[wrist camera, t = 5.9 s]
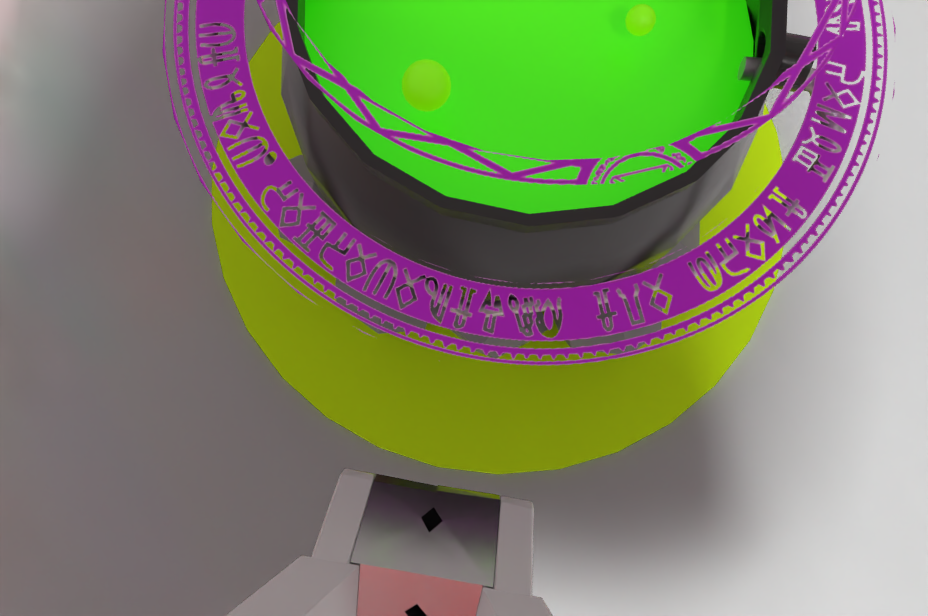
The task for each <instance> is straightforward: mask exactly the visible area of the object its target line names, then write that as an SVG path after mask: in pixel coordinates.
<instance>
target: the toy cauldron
mask: <svg viewBox="0 0 928 616" xmlns="http://www.w3.org/2000/svg"><path fill="white" fill-rule="evenodd" d="M264 1H265V0H257V2H258V4H259V7H260V9H261V11H262V13H263V15H264V17H265V20H266V22H267V24H268V26H269V28H270V30H271V32H270V33H269V35H268V36H267V37H266V39H265V40H264V42H263V43H262V45H261V46H260V47H259V49H258V50H257V52H256V53H255V55H254V56H253V57H252V59H251V60H250V62H249V63H248V58H247V53H246V47H245V45H246V43H245V33H244V29H245V28H244V11H245V5H244V4H245V0H197V2H196V18H195V24H196V26H195V35H196V50H197V58H200V56H201V59H202V64H201V63H199V61H198V69H199V76H200V80H201V86H202V90H203V94H204V98H205V101H206V104H207V108H208V112H209V115H210V116H212V115H213V113H214V111H215V109H217V108H218V107H220V109H221V110H220V111H222V114H221V115H218V116H216V117H220V116H222V115H223V119H220V120H217V121H214V122H212V124H213V126H214V128H215V130H216V134H217V136H218V137H219V138H218V143H217V147H216V149H215V147H214V145H213V142H212V140H211V137H210V136H209V133H208V130H207V127H206V125H205V122H204V118H203V115H202V113H201V111H200V106H199V102H198V98H197V94H196V90H195V85H194V80H193V74H192V70H191V61H190V52H189V35H188V31H189V30H188V29H189V26H188V21H189V4H190V0H175V2H174V6H175V7H174V16H173V21H174V24H173V42H174V58H175V65H176V73H177V78H178V80H177V81H178V85H179V89H180V95H181V99H182V104H183V108H184V111H185V115H186V116H187V121H188V125H189V127H190V130H191V132H192V136H193V138H194V140H195V143H196V146H197V148H198V150H199V153H200V155H201V157H202V159H203V161H204V163H205V165H206V168H207V169H208V171H209V174H210V175H211V176H212V194H211V193H210V191H209V189H208V188H207V186H206V184H205V182H204V181H203V178H202V176H201V175H200V173H199V171H198V169H197V167H196V164H195V163H194V161H193V158H192V156H191V154H190V151H189V149H188V146H187V145H186V141H185V138H184V136H183V134H182V130H181V127H180V124H179V122H178V117H177V113H176V110H175V106H174V102H173V99H172V95H171V89H170V84H169V78H168V72H167V62H166V61H167V60H166V49H165V14H164V34H163V57H164V63H165V69H166V74H167V80H168V86H169V91H170V97H171V103H172V109H173V114H174V119H175V121H176V124H177V126H178V128H179V131H180V133H181V136H182V138H183V140H184V143H185V145H186V148H187V150H188V152H189V155H190V157H191V160H192V162H193V164H194V167H195V169H196V172H197V174H198V176H199V179H200V181H201V183H202V184H203V186H204V187H205V189H206V190H207V192H208V193H209V194H210V196H211V197H212V227H213V231H214V236H215V241H216V245H217V250H218V254H219V259H220V264H221V268H222V273H223V277H224V280H225V282H226V284H227V286H228V289H229V291H230V293H231V295H232V298H233V300H234V302H235V304H236V306H237V309H238V311H239V313H240V315H241V317H242V320H243V322H244V324H245V326H246V328H247V330H248V332H249V333H250V334H251V336H252V337H253V339H254V340H255V341H256V343H257V344H258V345H259V347H260V348H261V349H262V351H263V352H264V353H265V355H266V356H267V358H268V359H269V360H270V362H271V363H272V364H273V366H274V367H275V368H276V370H277V371H278V372H279V374H280V375H281V377H282V378H283V379H284V380H285V381H287V382H288V383H289V384H290V385H291V386H292V387H293V388H294V389H295V390H297V391H298V392H299V393H300V394H301V395H302V396H303V397H304V398H306V399H307V400H308V401H309V402H310V403H311V404H312V405H313V406H315V407H316V408H317V409H318V410H319V411H320V412H321V413H322V414H323V415H325V416H326V417H327V418H329V419H330V420H332V421H334V422H336V423H337V424H339V425H341V426H342V427H344V428H346V429H348V430H349V431H351V432H353V433H355V434H356V435H358V436H360V437H361V438H363V439H365V440H367V441H368V442H370V443H372V444H374V445H375V446H377V447H379V448H382V449H385V450H388V451H391V452H394V453H397V454H400V455H403V456H406V457H409V458H412V459H415V460H418V461H421V462H424V463H427V464H430V465H433V466H436V467H441V468H450V469H458V470H466V471H475V472H483V473H491V474H508V473H520V472H533V471H545V470H557V469H562V468H565V467H569V466H572V465H575V464H579V463H582V462H586V461H589V460H592V459H596V458H599V457H603V456H606V455H609V454H613V453H616V452H618V451H620V450H622V449H624V448H626V447H628V446H630V445H631V444H633V443H635V442H637V441H639V440H641V439H643V438H644V437H646V436H648V435H650V434H652V433H654V432H656V431H657V430H659V429H661V428H663V427H665V426H667V425H669V424H670V423H672V422H673V421H674V420H675V419H676V418H677V417H679V416H680V415H681V414H682V413H683V412H684V411H686V410H687V409H688V408H689V407H690V406H692V405H693V404H694V403H695V402H696V401H697V400H699V399H700V398H701V397H702V396H703V395H705V394H706V393H707V392H708V391H709V390H710V389H712V388H713V387H714V386H715V385H716V384H717V383H718V381H719V380H720V379H721V377H722V376H723V375H724V373H725V372H726V371H727V369H728V368H729V367H730V366H731V364H732V363H733V362H734V360H735V359H736V358H737V356H738V355H739V354H740V353H741V351H742V350H743V349H744V347H745V346H746V345H747V343H748V342H749V341H750V339H751V337H752V335H753V333H754V331H755V328H756V326H757V324H758V322H759V320H760V318H761V316H762V314H763V311H764V309H765V307H766V305H767V303H768V301H769V299H770V297H771V295H772V292H773V290H774V286H776V284H778V283H780V281H782V280H783V279H784V278H786V276H787V275H789V274H790V273H791V272H792V271H793V270H794V269H795V268H796V267H797V266H798V264H800V263H801V262H802V261H803V260H804V259H805V258H806V257H807V256H808V255H809V253H811V251H812V250H813V249H814V248H815V246H817V245H818V243H819V242H820V241H821V240H822V238H823V237H824V236H825V235H826V233H827V232H828V231H829V229H830V228H831V226H832V225H833V224H834V222H835V221H836V219H837V218H838V216H839V214H841V212H842V210H843V209H844V207H845V205H846V204H847V202H848V200H849V198H850V196H851V195H852V193H853V191H854V189H855V187H856V185H857V183H858V182H859V181H858V180H859V179H860V176H861V174H862V173H863V171H864V168H865V166H866V163H867V161H868V159H869V155H870V152H871V150H872V147H873V144H874V140H875V138H876V134H877V130H878V127H879V124H880V123H879V122H880V118H881V114H882V113H881V112H882V109H883V103H884V97H885V90H886V80H887V79H886V78H887V60H888V58H887V56H888V54H887V53H888V52H887V51H888V50H887V33H886V32H887V29H886V22H885V14H884V8H883V2H882V0H879V5H880V10H881V14H882V16H881V18H882V26H883V35H881V34H880V33H878V32H877V27H879V26H881V23H878V22H876V16H877V15H880V13H877V12H875V9H874V6H875V5H877V4H878V2H877V1H874V0H868V5H869V11H870V19H871V26H872V37H873V38H872V42H873V44H872V46H873V58H872V60H873V62H872V64H873V65H872V78H871V86H870V93H869V100H868V106H867V110H866V114H865V118H864V124H863V126H862V130H861V132H860V136H859V140H858V142H857V145H856V148H855V150H854V153H853V156H852V158H851V161H850V163H849V165H848V167H847V169H846V171H845V173H844V175H843V178H842V180H841V181H840V183H839V185H838V187H837V189H836V191H835V192H834V194H833V195H832V197H831V198H830V200H829V202H828V203H827V205H826V207H825V208H824V209H823V211H822V212H821V214H820V215H819V217H818V218H817V219H816V221H815V222H814V223H813V224H812V226H811V227H810V228H809V229H808V231H807V232H806V233H805V234H804V236H803V237H802V238H801V239H800V240H799V241H798V242H797V243H796V244H795V245H794V247H792V249H791V250H789V252H787V254H786V255H784V257H782V258H781V256H782V252H783V247H784V245H785V244H786V243H787V242H788V241H789V240H790V239H791V238H792V237H793V235H795V233H796V232H797V231H798V230H799V229H800V228H801V227H802V225H803V224H804V223H805V222H806V220H807V219H808V218H809V216H810V215H811V213H813V211H814V210H815V208H816V206H817V205H818V204H819V203H820V201H821V199H822V198H823V196H824V194H825V192H826V191H827V190H828V187H830V185H831V183H832V181H833V179H834V177H835V174H837V171H838V169H839V167H840V165H841V163H842V161H843V158H844V156H845V153H846V151H847V148H848V146H849V143H850V140H851V138H852V134H853V132H854V128H855V126H856V125H855V124H856V122H857V118H858V114H859V109H860V104H858V105H854V106H850V107H847V108H843V106H842V104H841V102H840V100H841V101H842V103H843V104H844V105H847V104H850V103H853V102H854V100H853V98H852V97H851V96H850V95H849V93H848V92H847V93H843V94H841V95H839V96H837V94H836V93H839V92H841V91H842V90H846V89H849V90H850V91H851V92H852V94H853V95H854V96H855V98H856V99H857V100H858V101H859V102H860V103H861V100H862V93H863V89H864V88H863V86H864V76H863V78H862V80H860V82H859V83H856V84H851V85H847V84H844V83H841V81H840V80H841V77H840V76H837V75H833V74H828V73H826V71H827V70H828V71H832V72H836V73H842V67H839V66H835V65H832V64H828V63H827V62H828V61H831V62H835V63H838V64H842V65H845V66H846V70H845V76H844V80H845V81H846V82H854V81H856V80H857V79H858V78H859V76H860V74H861V71H865V67H866V65H865V63H866V37H865V36H866V33H865V21H864V14H863V7H862V1H861V0H855V2H854V3H850V4H849V1H850V0H828V1H826V0H815V7H816V14H817V22H818V23H817V24H818V26H817V27H816V29H815V31H814V33H813V35H812V37H807V36H802V35H797V34H791V33H786V28H787V1H788V0H275V1H276V6H277V10H278V15H279V19H280V22H279V23H278V24H277V25H276V26H275V27H273V25H272V24H271V21H270V20H269V18H268V17H267V16H266V12H265V10H264V9H263V7H262V5H261V4H262V2H264ZM166 2H167V0H165V12H166ZM179 2H180V3H182V4H183V10H180V11H178V8H177V5H178V3H179ZM839 4H842V5H841V7H840V9H839V10H838V11H837V12H834V10H835V9H836V7H837V5H839ZM828 5H829V6H828ZM827 6H828V8H827V9H826V7H827ZM825 9H826V12H825ZM177 13H178V14H181V15H182V20H181V21H179V22H178V23H176V22H177ZM839 15H841V17H840V20H839V19H838V20H837V21H841V22H840V24H831V23H830V24H827V23H828V21H829V19H831V18H834V17H837V16H839ZM850 21H851V22H856V21H857V22H860V31H857V30H851V31H850V30H846V28H853V27H854V28H855V27H857V25H853V24H849V22H850ZM221 23H223V24H227V25H229V26H231V27H233V29H234V30H235V33H236V36H235V39H234V40H233V42H231V43H229V44H228V45H224V46H220V43H224V42H227V41H229V40H231V38H232V34H228V35H218V32H228V31H230V29H229V28H227V27H223V26H220V24H221ZM177 24H178V25H180V26H182V30H181V31H180V32H179V33H177ZM893 24H894V19H893ZM828 27H834V28H837V27H840V29H839V30H838V32H839V35H838V34H835V33H832V32H830V31H827V29H826V28H828ZM894 32H895V24H894ZM842 35H844V36H842ZM177 36H182V42H181V43H179V44H177ZM879 36H883V37H884V38H883V39H884V70H883V83H882V90H881V91H882V93H881V100H880V105H879V111H878V115H877V119H876V125H875V127H874V131H873V134H872V138H871V141H870V145H869V147H868V150H867V153H866V155H865V158H864V161H863V163H862V166H861V168H860V170H859V172H858V174H857V177H856V179H855V181H854V183H853V185H852V187H851V189H850V190H849V192H848V194H847V196H846V198H845V200H844V201H843V203H842V205H841V206H840V208H839V210H838V211H837V212H836V214H835V215H834V217H833V219H832V220H831V222H829V224H828V225H827V227H826V229H824V231H823V232H822V234H820V236H819V237H818V239H816V241H815V242H814V243H813V244H812V246H811V247H810V248H809V249H808V250H807V251H806V252H805V254H803V255H802V257H800V259H799V260H797V262H795V263H794V265H792V266H791V268H789V269H788V270H787V271H786V272H785V273H784V274H783V275H782V276H780V277H779V278H778V279H777V280H776V277H777V273H778V269H779V270H784V266H783V264H784V263H785V262H793V261H794V260H793V257H792V255H793V253H795V252H799V253H803V252H802V249H801V245H803V243H806V244H807V243H808V241H807V239H808V238H809V236H810V235H814V236H817V235H818V233H817V231H816V228H817V227H818V225H824V223H823V222H822V220H823V218H824V217H825V215H828V216H831V214H830V213H829V212H828V211H829V209H830V208H831V206H837V204H836V199H837V197H838V196H843V194H841V190H842V188H843V186H848V184H847V183H846V181H847V179H848V177H849V176H854V174H853V173H852V172H851V170H852V168H853V166H859V164H858V163H857V162H856V159H857V157H858V155H863V154H862V153H861V152H860V149H861V147H862V145H865V144H867V143H866V142H865V141H864V140H863V139H864V137H865V135H867V134H868V135H870V132H869V131H868V130H867V127H868V125H869V124H871V123H873V120H871V119H870V115H871V113H876V110H875V109H874V108H873V103H877V102H879V101H878V99H876V98H875V97H874V94H875V92H877V91H880V89H879V88H878V87H876V81H878V80H881V78H879V77H878V76H877V69H882V67H881V66H879V65H878V59H879V58H883V56H882V55H881V54H879V53H878V48H880V47H882V46H881V45H880V44H878V39H877V37H879ZM817 41H818V49H817V50H816V43H817ZM177 47H181V48H182V49H183V52H182V53H181V54H180V55H178V50H177ZM235 47H237V48H238V52H237V53H233V54H226V55H222V53H223V52H229V51H233V50H234V49H235ZM237 55H239V59H240V60H238V61H237V60H236V59H231V60H226V61H223V58H227V57H232V56H237ZM178 57H182V58H183V60H184V61H183V63H182V64H181V65H179V60H178ZM816 59H817V60H818V61H817V68H816V69H813V68H812V65H813V62H814V60H816ZM236 68H238V71H237V73H236V74H235V77H234V78H235V79H236V80H238V81H239V82H238V84H237V83H235V82H234V81H230V82H229V78H228V77H227V75H229V74H233V72H234V70H235V69H236ZM180 69H184V70H185V74H184V75H180V72H179V71H180ZM181 79H186V81H187V83H186V84H184V85H182V81H181ZM207 80H208V81H209V83H208V84H207V85H208V86H210V87H211V88H212V89H207V88H206V87H205V86H204V84H205V82H206V81H207ZM894 81H895V80H894ZM894 83H895V82H894ZM184 87H186V88H188V92H189V93H187V94H186V95H184V93H183V88H184ZM772 88H778V89H782V91H781V92H780V95H778V98H777V99H776V101H775V103H774V105H773V107H772V108H771V111H770V112H768V109H767V107H766V104H765V100H766V97H767V94H768V92H769V90H770V89H772ZM796 90H797V91H796ZM803 90H804V91H808V92H809V93H810V96H811V99H810V100H811V101H810V103H809V107H808V109H807V113H806V115H805V118H804V121H803V123H802V126H801V129H800V131H799V133H798V135H797V137H796V140H795V142H794V144H793V146H792V148H791V150H790V152H789V154H788V155H787V157H786V159H785V161H784V162H782V157H781V152H780V146H779V141H778V136H777V132H776V129H775V127H774V124H773V122H772V118H773V117H774V116H776V115H777V114H778V113H780V112H781V111H783V109H785V108H787V106H788V105H790V104H791V103H792V101H794V100H795V99H796V98H797V97H798V95H799V94H800V93H801V92H802V91H803ZM789 91H792V92H794V94H793V95H791V96H790V98H788V99H786V97H787V95H788V93H789ZM893 96H894V91H893ZM838 97H839V98H838ZM186 99H190V100H191V105H189V106H187V104H186ZM839 99H840V100H839ZM188 108H189V109H193V110H194V115H192V116H189V111H188ZM815 111H816V112H817V114H816V113H815ZM845 114H846V115H849V116H851V119H847V118H845ZM812 117H813V118H815V119H817V120H820V122H821V124H820V123H817V122H814V121H812V120H811V118H812ZM191 119H196V121H197V123H198V125H197V126H195V128H194V127H193V124H192V121H191ZM810 127H813V128H814V131H815V134H816V135H819V136H820V137H819V138H816V139H815V140H816V142H818V143H819V147H818V146H817V145H816V144H814V142H813V141H811V142H809V143H807V144H804V143H802V141H806V140H808V139H810V138H811V137H812V132H811V130H810ZM195 130H197V131H200V132H201V134H202V136H201V137H200V138H199V139H198V138H197V135H196V133H195ZM844 130H846V133H844ZM199 141H204V142H205V143H206V147H205V148H204V149H202V148H201V145H200V143H199ZM800 146H803V147H806V148H808V149H809V150H811V151H813V152H815V153H816V154H818V158H817V160H816V161H815V162H814V164H813V165H812V166H811V168H810V169H809V170H808V171H807V169H808V168H807V167H806V166H804V165H803V164H801V163H799V162H798V161H796V160H795V161H793V160H792V159H793V157H794V155H796V153H797V151H798V150H799V148H800ZM206 151H208V152H209V153H210V155H211V159H209V160H207V158H206V157H205V155H204V152H206ZM802 152H803V153H804V154H806V155H808V156H809V157H811V158H815V156H814V155H813V154H811V153H809V152H807V151H805V150H803V151H802ZM878 157H879V156H878ZM798 158H799V159H800V160H801V161H803V162H805V163H806V164H808V165H811V161H810V160H809V159H807V158H805V157H804V156H802V155H798ZM877 159H878V158H877ZM211 162H213V166H212V170H211V167H210V165H209V163H211ZM786 197H787V198H786ZM803 209H805V211H806V212H807V216H806V218H804V219H801V218H800V217H799V216H797V214H798V213H800V214H801V215H803V214H804V213H803V212H802V211H801V210H803ZM786 225H787V226H789V227H790V228H791V231H789V230H787V229H786Z"/></svg>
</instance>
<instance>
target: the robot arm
mask: <svg viewBox="0 0 928 616" xmlns="http://www.w3.org/2000/svg"><path fill="white" fill-rule="evenodd" d="M533 529H534V506H533V503H532V501H528V500H522V499H517V498H511V497H505V496H500V497H499V495H496V494H490V493H483V492H477V491H471V490H465V489H458V488H452V487H446V486H440V485H438V486H434V485H429V484H424V483H419V482H414V481H409V480H404V479H399V478H394V477H389V476H384V475H379V474H373V473H367V472H362V471H357V470H352V469H346V468H345V469H344V470H343V472H342V473H341V475H340V476H339V479H338V482H337V485H336V487H335V490H334V493H333V496H332V499H331V502H330V504H329V507H328V510H327V513H326V516H325V519H324V521H323V524H322V527H321V530H320V533H319V536H318V538H317V541H316V544H315V547H314V550H313V553H312V555H311V557H310V556H303V555H301V556H300V557H299V558H297V559H296V560H295V561H294V562H292V563H291V564H290V565H289V566H287V567H286V568H285V569H284V570H282V571H281V572H280V573H279V574H277V575H276V576H275V577H273V578H272V579H271V580H270V581H268V582H267V583H266V584H265V585H263V586H262V587H261V588H260V589H258V590H257V591H256V592H255V593H253V594H252V595H251V596H250V597H248V598H247V599H246V600H245V601H243V602H242V603H241V604H239V605H238V606H237V607H236V608H234V609H233V610H232V611H231V612H229V613H228V614H227V615H226V616H553V615H552V614H551V612H550V610H549V609H548V607H547V605H546V604H545V602H544V600H543V599H542V598H541V597H536V596H532V578H533Z"/></svg>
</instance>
